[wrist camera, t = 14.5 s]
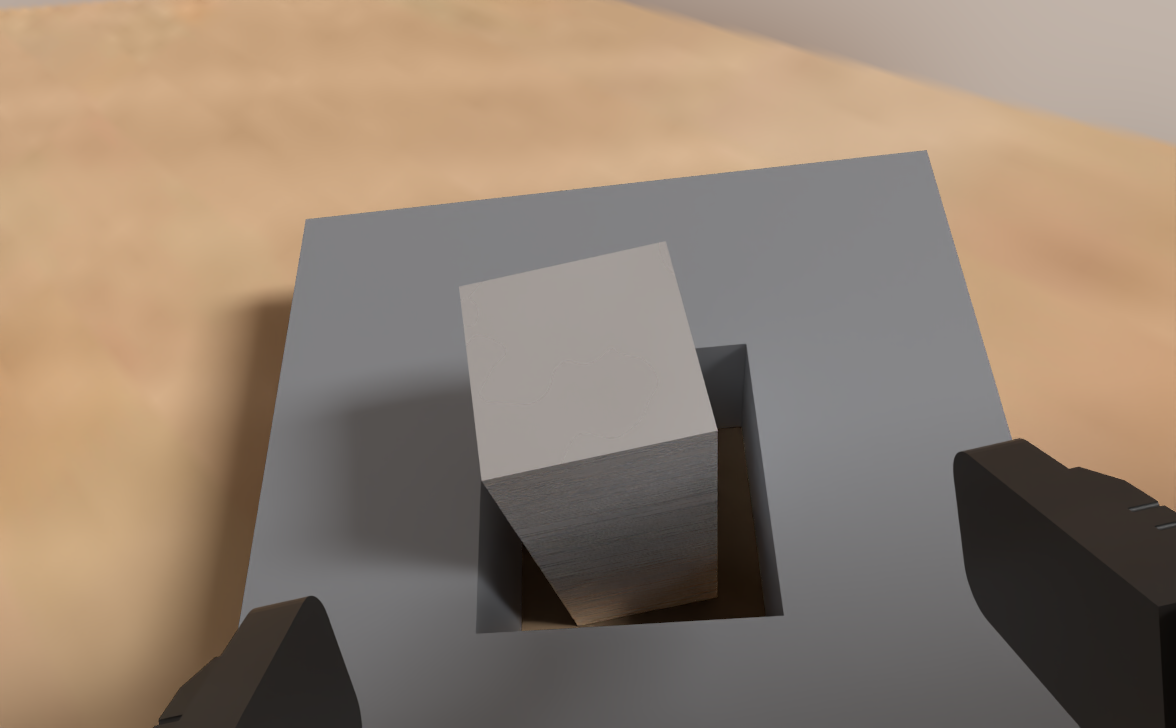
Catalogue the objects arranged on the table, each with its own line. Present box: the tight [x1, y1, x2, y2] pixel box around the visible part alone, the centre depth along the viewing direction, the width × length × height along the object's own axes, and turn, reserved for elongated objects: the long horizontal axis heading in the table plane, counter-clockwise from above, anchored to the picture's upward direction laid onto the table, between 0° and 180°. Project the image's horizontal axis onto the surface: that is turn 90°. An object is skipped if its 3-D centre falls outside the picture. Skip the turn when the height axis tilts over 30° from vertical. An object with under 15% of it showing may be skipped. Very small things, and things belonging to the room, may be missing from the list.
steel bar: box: [459, 241, 718, 626], centre depth 18 cm, size 4×4×10 cm
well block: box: [238, 150, 1080, 728], centre depth 20 cm, size 16×16×4 cm
